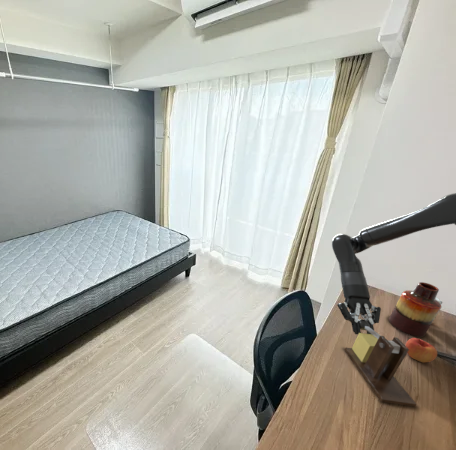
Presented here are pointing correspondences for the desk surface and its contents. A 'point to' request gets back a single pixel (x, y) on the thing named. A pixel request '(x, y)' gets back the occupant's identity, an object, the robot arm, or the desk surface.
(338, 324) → the desk surface
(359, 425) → the desk surface
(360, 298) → the robot arm
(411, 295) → the vase
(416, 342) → the apple
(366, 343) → the butter
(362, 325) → the ball knob lever
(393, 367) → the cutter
